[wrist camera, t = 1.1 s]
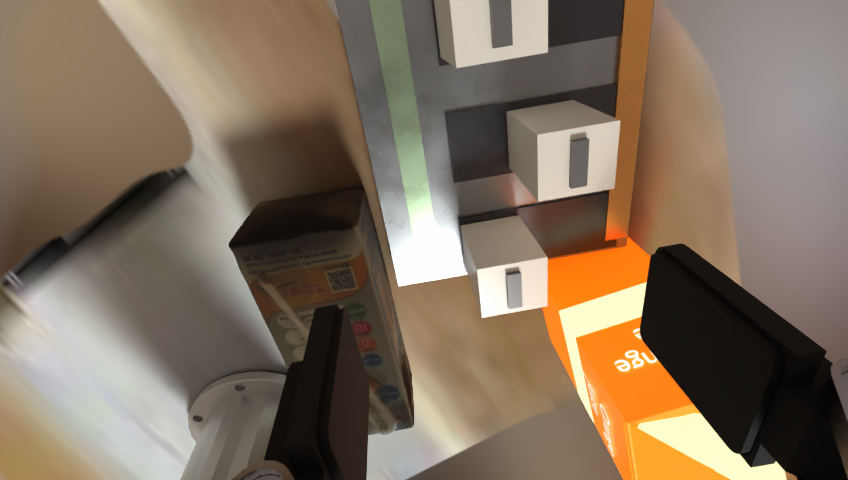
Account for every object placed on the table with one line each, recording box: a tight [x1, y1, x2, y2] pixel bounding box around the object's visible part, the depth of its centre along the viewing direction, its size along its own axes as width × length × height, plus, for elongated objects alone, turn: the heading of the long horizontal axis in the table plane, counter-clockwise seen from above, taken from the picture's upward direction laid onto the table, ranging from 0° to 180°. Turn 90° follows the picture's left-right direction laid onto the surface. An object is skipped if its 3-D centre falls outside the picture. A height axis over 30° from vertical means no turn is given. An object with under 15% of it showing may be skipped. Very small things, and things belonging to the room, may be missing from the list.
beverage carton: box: [229, 186, 414, 435], centre depth 30 cm, size 8×19×7 cm, turn 9°
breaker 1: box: [434, 0, 548, 68], centre depth 19 cm, size 4×4×6 cm
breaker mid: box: [506, 100, 620, 202], centre depth 22 cm, size 4×4×6 cm
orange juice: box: [542, 237, 786, 480], centre depth 25 cm, size 8×9×20 cm
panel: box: [335, 0, 654, 286], centre depth 26 cm, size 19×17×2 cm
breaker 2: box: [460, 215, 548, 318], centre depth 26 cm, size 4×4×6 cm
